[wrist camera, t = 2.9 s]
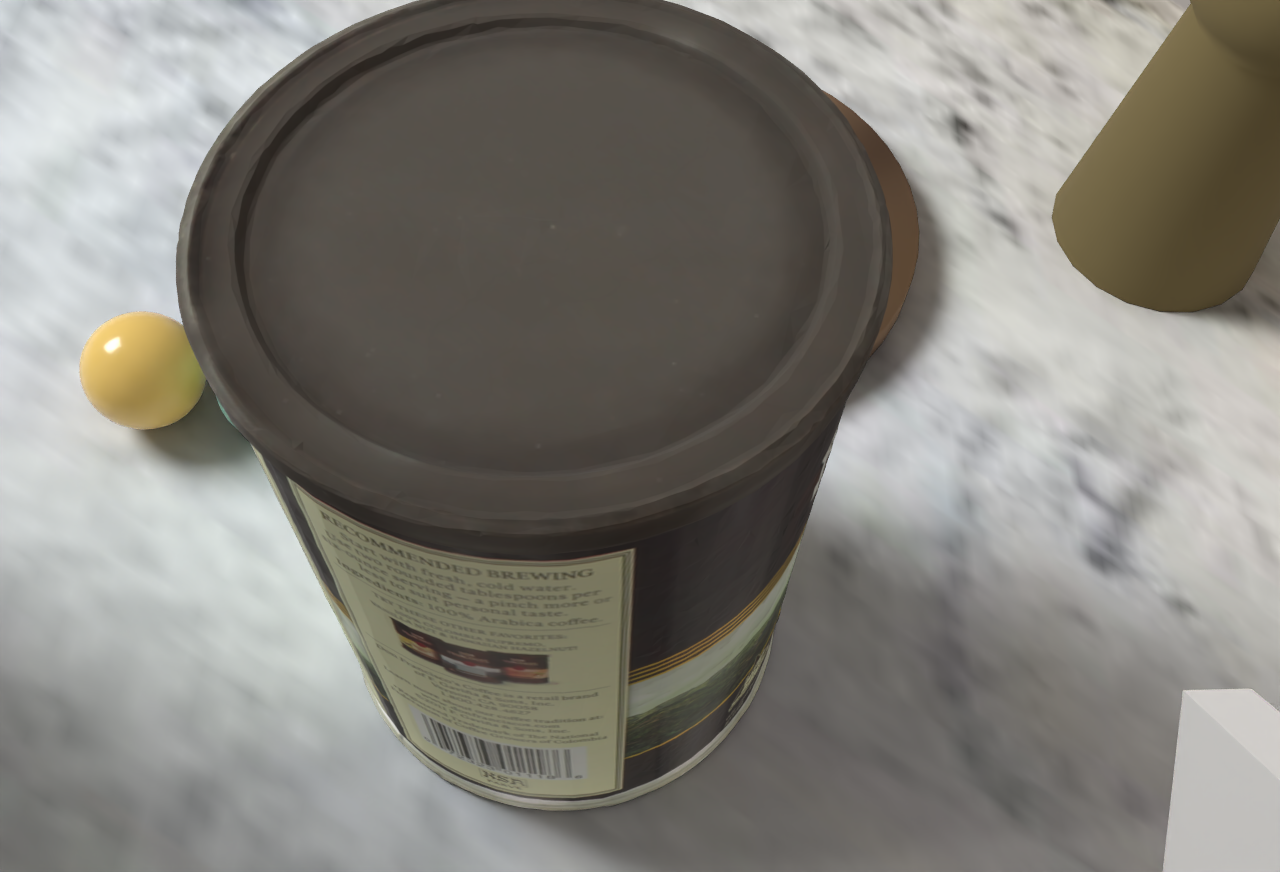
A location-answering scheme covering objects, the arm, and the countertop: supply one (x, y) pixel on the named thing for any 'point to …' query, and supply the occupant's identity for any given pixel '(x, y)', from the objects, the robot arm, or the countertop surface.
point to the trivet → (899, 213)
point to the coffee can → (542, 365)
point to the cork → (1184, 166)
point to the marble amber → (141, 371)
